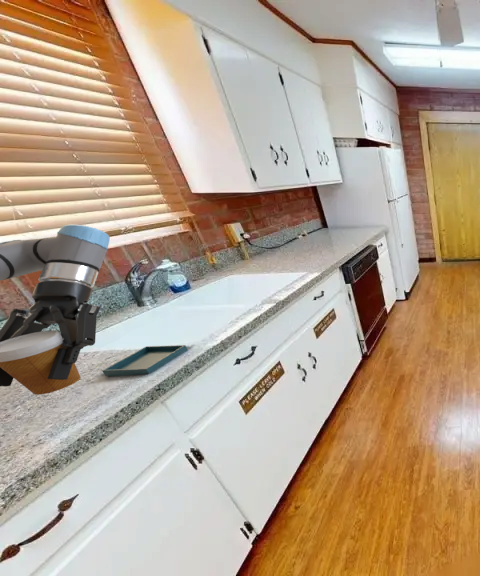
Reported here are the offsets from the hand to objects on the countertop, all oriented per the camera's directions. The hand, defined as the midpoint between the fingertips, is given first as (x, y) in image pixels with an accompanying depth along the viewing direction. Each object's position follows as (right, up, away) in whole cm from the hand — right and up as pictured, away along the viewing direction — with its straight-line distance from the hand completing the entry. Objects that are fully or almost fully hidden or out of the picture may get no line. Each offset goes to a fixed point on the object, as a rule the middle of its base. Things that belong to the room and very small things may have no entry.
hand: (28, 382), depth 63 cm
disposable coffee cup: (-1, -2, +5) cm, 5 cm away
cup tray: (-8, -3, +27) cm, 28 cm away
